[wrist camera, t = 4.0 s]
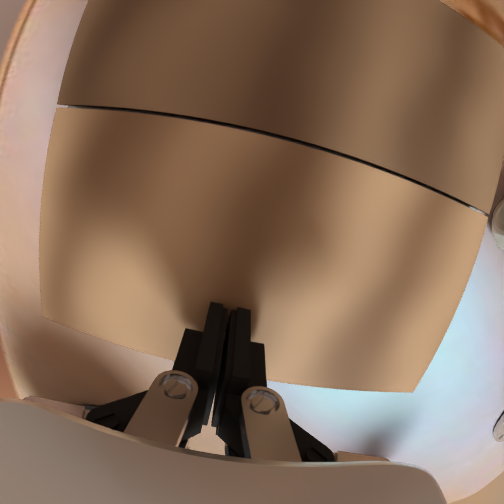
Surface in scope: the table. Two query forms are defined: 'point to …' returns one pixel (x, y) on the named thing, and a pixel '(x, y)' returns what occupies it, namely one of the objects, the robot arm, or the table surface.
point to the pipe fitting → (498, 224)
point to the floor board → (310, 78)
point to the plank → (248, 247)
